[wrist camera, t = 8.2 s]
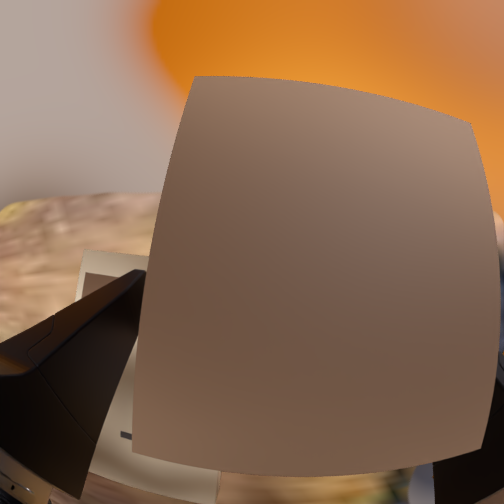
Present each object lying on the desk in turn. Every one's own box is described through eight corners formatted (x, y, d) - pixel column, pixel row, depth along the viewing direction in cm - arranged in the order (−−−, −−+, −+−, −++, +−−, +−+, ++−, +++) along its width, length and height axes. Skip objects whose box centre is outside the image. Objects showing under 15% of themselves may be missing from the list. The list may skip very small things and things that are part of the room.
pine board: (219, 487, 15) (214, 506, 13) (88, 453, 16) (70, 464, 13) (241, 273, 19) (239, 265, 16) (101, 257, 19) (83, 248, 17)
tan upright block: (297, 351, 17) (480, 449, 2) (109, 325, 18) (-121, 289, 2) (303, 287, 18) (470, 122, 3) (117, 266, 19) (-85, 147, 3)
